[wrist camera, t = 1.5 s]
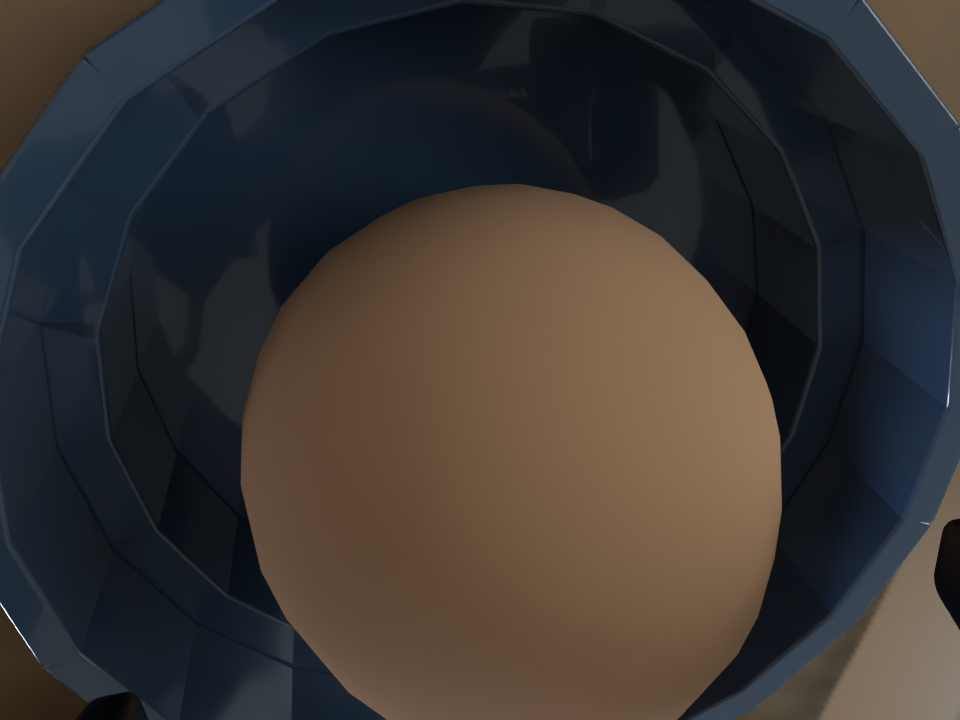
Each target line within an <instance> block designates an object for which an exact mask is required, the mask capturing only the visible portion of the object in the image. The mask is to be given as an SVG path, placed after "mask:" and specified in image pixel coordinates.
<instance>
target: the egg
mask: <svg viewBox="0 0 960 720" xmlns="http://www.w3.org/2000/svg"><path fill="white" fill-rule="evenodd" d="M241 489H242V493H243V497H244V501H245V506H246V510H247V514H248V518H249V522H250V527H251V531H252V535H253V539H254V543H255V548H256V552H257V556H258V560H259V565H260V569H261V572H262V574H263V576H264V578H265V580H266V581H267V583H268V585H269V587H270V589H271V591H272V593H273V595H274V596H275V598H276V600H277V602H278V604H279V606H280V608H281V610H282V611H283V613H284V615H285V617H286V619H287V620H288V621H289V623H290V624H291V625H292V626H293V627H294V629H295V630H296V631H297V632H298V633H299V634H300V636H301V637H302V638H303V639H304V640H305V642H306V643H307V644H308V645H309V646H310V648H311V649H312V650H313V651H314V652H315V654H316V655H317V656H318V657H319V658H320V659H321V661H322V662H323V663H324V664H325V665H326V666H327V668H328V669H329V670H330V671H331V672H332V674H333V675H334V676H335V677H336V678H337V679H338V681H339V682H340V683H341V684H342V685H343V686H344V688H345V689H346V690H347V691H348V692H349V693H350V694H351V695H353V696H354V697H356V698H357V699H358V700H360V701H361V702H363V703H364V704H366V705H367V706H368V707H370V708H371V709H373V710H374V711H375V712H377V713H378V714H380V715H381V716H383V717H384V718H385V719H387V720H677V719H679V717H680V716H681V715H682V714H683V713H684V712H685V711H686V710H687V709H688V708H689V707H690V706H691V705H692V703H693V702H694V701H695V700H696V699H697V698H698V697H699V696H700V695H701V694H702V693H703V692H704V691H705V690H706V688H707V687H708V686H709V685H710V684H711V683H712V682H713V681H714V680H715V679H716V678H717V677H718V676H719V675H720V673H721V672H722V671H723V670H724V669H725V668H726V667H727V666H728V665H729V664H730V663H731V661H732V660H733V659H734V658H735V657H736V656H737V654H738V653H739V651H740V649H741V647H742V645H743V643H744V642H745V640H746V638H747V636H748V634H749V632H750V631H751V629H752V627H753V625H754V623H755V621H756V619H757V618H758V615H759V611H760V608H761V604H762V601H763V597H764V594H765V590H766V587H767V583H768V579H769V576H770V572H771V569H772V565H773V562H774V558H775V551H776V545H777V538H778V532H779V526H780V519H781V513H782V493H781V455H780V435H779V430H778V425H777V420H776V416H775V411H774V406H773V401H772V398H771V395H770V392H769V389H768V386H767V383H766V380H765V378H764V376H763V373H762V371H761V369H760V366H759V364H758V362H757V359H756V357H755V355H754V352H753V350H752V348H751V345H750V343H749V341H748V338H747V336H746V334H745V331H744V330H743V329H742V327H741V326H740V325H739V323H738V322H737V320H736V319H735V318H734V316H733V315H732V314H731V312H730V311H729V310H728V308H727V307H726V306H725V304H724V303H723V301H722V300H721V299H720V297H719V296H718V295H717V293H716V292H715V291H714V289H713V288H712V286H711V285H710V284H709V282H708V281H707V280H706V279H705V278H704V277H703V276H702V275H701V274H700V273H699V272H698V271H697V270H696V269H695V268H694V267H693V266H692V265H691V264H690V263H688V262H687V261H686V260H685V259H684V258H683V257H682V256H681V255H680V254H679V253H678V252H677V251H676V250H675V249H674V248H673V247H672V246H671V245H670V244H669V243H668V242H667V241H666V240H665V239H663V238H662V237H661V236H660V235H658V234H657V233H655V232H653V231H652V230H650V229H648V228H646V227H645V226H643V225H641V224H640V223H638V222H636V221H635V220H633V219H631V218H629V217H628V216H626V215H624V214H623V213H621V212H619V211H617V210H616V209H614V208H612V207H609V206H606V205H604V204H601V203H598V202H595V201H592V200H590V199H587V198H584V197H581V196H578V195H576V194H572V193H567V192H562V191H556V190H551V189H545V188H540V187H535V186H529V185H524V184H502V185H476V186H472V187H467V188H462V189H457V190H453V191H448V192H444V193H440V194H435V195H431V196H427V197H423V198H419V199H415V200H412V201H410V202H408V203H406V204H404V205H402V206H400V207H398V208H396V209H394V210H392V211H390V212H388V213H386V214H384V215H382V216H381V217H379V218H378V219H376V220H375V221H373V222H371V223H370V224H368V225H367V226H365V227H364V228H362V229H361V230H359V231H358V232H356V233H355V234H353V235H352V236H350V237H349V238H347V239H346V240H344V241H343V242H341V243H340V244H338V245H337V246H335V247H334V248H332V249H331V250H330V251H329V252H328V253H326V254H325V255H324V256H323V258H322V259H321V260H320V261H319V262H318V263H317V265H316V266H315V267H314V268H313V269H312V271H311V272H310V273H309V274H308V275H307V277H306V278H305V279H304V280H303V281H302V282H301V284H300V285H299V286H298V287H297V288H296V290H295V291H294V292H293V293H292V294H291V295H290V297H289V298H288V299H287V300H286V301H285V303H284V304H283V305H282V306H281V308H280V310H279V312H278V315H277V317H276V319H275V321H274V323H273V325H272V327H271V329H270V331H269V334H268V336H267V338H266V340H265V342H264V344H263V346H262V348H261V351H260V353H259V356H258V359H257V363H256V367H255V371H254V374H253V378H252V382H251V386H250V390H249V393H248V397H247V401H246V405H245V408H244V412H243V416H242V447H241Z"/></svg>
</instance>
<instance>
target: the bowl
mask: <svg viewBox="0 0 960 720" xmlns="http://www.w3.org/2000/svg"><path fill="white" fill-rule="evenodd" d="M502 184H524V185H529V186H535V187H540V188H545V189H551V190H556V191H562V192H567V193H572V194H576V195H578V196H581V197H584V198H587V199H590V200H592V201H595V202H598V203H601V204H604V205H606V206H609V207H612V208H614V209H616V210H617V211H619V212H621V213H623V214H624V215H626V216H628V217H629V218H631V219H633V220H635V221H636V222H638V223H640V224H641V225H643V226H645V227H646V228H648V229H650V230H652V231H653V232H655V233H657V234H658V235H660V236H661V237H662V238H663V239H665V240H666V241H667V242H668V243H669V244H670V245H671V246H672V247H673V248H674V249H675V250H676V251H677V252H678V253H679V254H680V255H681V256H682V257H683V258H684V259H685V260H686V261H687V262H688V263H690V264H691V265H692V266H693V267H694V268H695V269H696V270H697V271H698V272H699V273H700V274H701V275H702V276H703V277H704V278H705V279H706V280H707V281H708V282H709V284H710V285H711V286H712V288H713V289H714V291H715V292H716V293H717V295H718V296H719V297H720V299H721V300H722V301H723V303H724V304H725V306H726V307H727V308H728V310H729V311H730V312H731V314H732V315H733V316H734V318H735V319H736V320H737V322H738V323H739V325H740V326H741V327H742V329H743V330H744V331H745V334H746V336H747V338H748V341H749V343H750V345H751V348H752V350H753V352H754V355H755V357H756V359H757V362H758V364H759V366H760V369H761V371H762V373H763V376H764V378H765V380H766V383H767V386H768V389H769V392H770V395H771V398H772V401H773V406H774V411H775V416H776V420H777V425H778V430H779V435H780V455H781V493H782V513H781V519H780V526H779V532H778V538H777V545H776V551H775V558H774V562H773V565H772V569H771V572H770V576H769V579H768V583H767V587H766V590H765V594H764V597H763V601H762V604H761V608H760V611H759V615H758V618H757V619H756V621H755V623H754V625H753V627H752V629H751V631H750V632H749V634H748V636H747V638H746V640H745V642H744V643H743V645H742V647H741V649H740V651H739V653H738V654H737V656H736V657H735V658H734V659H733V660H732V661H731V663H730V664H729V665H728V666H727V667H726V668H725V669H724V670H723V671H722V672H721V673H720V675H719V676H718V677H717V678H716V679H715V680H714V681H713V682H712V683H711V684H710V685H709V686H708V687H707V688H706V690H705V691H704V692H703V693H702V694H701V695H700V696H699V697H698V698H697V699H696V700H695V701H694V702H693V703H692V705H691V706H690V707H689V708H688V709H687V710H686V711H685V712H684V713H683V714H682V715H681V716H680V717H679V719H677V720H733V719H735V718H736V717H738V716H740V715H742V714H744V713H746V712H748V711H750V710H751V709H753V708H755V707H756V704H760V703H761V702H762V701H764V700H765V699H766V698H767V697H768V696H770V695H771V694H772V693H773V692H774V691H776V690H777V689H778V688H779V687H780V686H782V685H783V684H784V683H785V682H786V681H788V680H789V679H790V678H791V677H792V676H794V675H795V674H796V673H797V672H798V671H800V670H801V669H802V668H803V667H804V666H806V665H807V664H808V663H809V662H810V661H812V660H813V659H814V658H815V657H816V656H818V655H819V654H820V653H821V652H822V651H824V650H825V649H826V648H827V647H828V646H830V645H831V644H832V643H833V642H835V641H836V640H837V639H838V638H839V637H841V636H842V635H843V634H844V633H845V632H847V631H848V630H849V629H850V628H851V627H852V624H853V623H856V622H857V621H858V620H859V618H860V617H861V616H862V614H863V613H864V612H865V611H866V609H867V608H868V607H869V605H870V604H871V603H872V601H873V600H874V599H875V597H876V596H877V595H878V594H879V592H880V591H881V590H882V588H883V587H884V586H885V584H886V583H887V582H888V580H889V579H890V578H891V577H892V575H893V574H894V573H895V571H896V570H897V569H898V567H899V566H900V565H901V564H902V562H903V561H904V560H905V558H906V557H907V556H908V554H909V553H910V552H911V550H912V549H913V548H914V546H915V545H916V544H917V543H918V541H919V540H920V539H921V537H922V536H923V535H924V533H925V532H926V531H927V530H928V528H929V527H930V522H932V521H933V520H934V518H935V516H936V514H937V511H938V509H939V507H940V504H941V502H942V499H943V497H944V494H945V492H946V490H947V488H948V485H949V483H950V480H951V478H952V475H953V473H954V471H955V468H956V466H957V464H958V461H959V459H960V126H959V123H958V121H957V119H956V118H955V117H954V115H953V114H952V113H951V112H950V110H949V109H948V108H947V106H946V105H945V104H944V102H943V101H942V100H941V98H940V97H939V96H938V94H937V93H936V92H935V90H934V89H933V88H932V86H931V85H930V84H929V83H928V81H927V80H926V79H925V77H924V76H923V75H922V73H921V72H920V71H919V69H918V68H917V67H916V65H915V64H914V63H913V61H912V60H911V59H910V58H909V56H908V55H907V54H906V52H905V51H904V50H903V48H902V47H901V46H900V44H899V43H898V42H897V40H896V39H895V38H894V36H893V35H892V34H891V33H890V31H889V30H888V29H887V27H886V26H885V25H884V23H883V22H882V21H881V19H880V18H879V17H878V15H877V14H876V13H875V11H874V10H873V9H872V7H871V6H870V5H869V4H868V2H867V1H866V0H159V1H158V2H156V3H155V4H153V5H152V6H150V7H149V8H147V9H146V10H144V11H143V12H141V13H140V14H139V15H137V16H136V17H134V18H133V19H131V20H130V21H128V22H127V23H125V24H124V25H122V26H121V27H119V28H118V29H116V30H115V31H114V32H112V33H111V34H109V35H108V36H106V37H105V38H103V39H102V40H100V41H99V42H97V43H96V44H94V45H93V46H91V47H90V48H88V49H87V50H86V51H85V53H84V55H83V56H82V57H80V58H79V59H77V60H76V62H75V63H74V65H73V66H72V68H71V69H70V71H69V72H68V74H67V75H66V77H65V78H64V79H63V81H62V82H61V84H60V85H59V87H58V88H57V90H56V91H55V93H54V94H53V96H52V97H51V98H50V100H49V101H48V103H47V104H46V106H45V107H44V109H43V110H42V112H41V113H40V115H39V116H38V117H37V119H36V120H35V122H34V123H33V125H32V126H31V128H30V129H29V131H28V132H27V134H26V135H25V136H24V138H23V139H22V141H21V142H20V144H19V145H18V147H17V148H16V150H15V151H14V153H13V154H12V155H11V157H10V158H9V160H8V161H7V163H6V164H5V166H4V167H3V169H2V170H1V172H0V606H1V607H2V609H3V610H4V612H5V613H6V615H7V616H8V618H9V619H10V621H11V622H12V624H13V625H14V627H15V628H16V630H17V631H18V633H19V634H20V636H21V637H22V639H23V640H24V642H25V643H26V645H27V646H28V648H29V649H30V651H31V652H32V654H33V655H34V656H35V658H36V659H37V661H38V662H39V664H40V665H41V666H42V667H45V670H46V672H48V673H49V674H50V675H52V676H53V677H54V678H56V679H57V680H58V681H60V682H61V683H62V684H63V685H65V686H66V687H67V688H69V689H70V690H71V691H73V692H74V693H75V694H77V695H78V696H79V697H81V698H82V699H83V700H85V701H86V702H87V703H90V702H91V701H92V700H94V699H96V698H98V697H103V696H108V695H112V694H117V693H122V692H127V691H129V692H134V693H135V694H136V695H137V696H138V697H139V698H140V700H141V703H142V705H143V707H144V710H145V712H146V714H147V717H148V719H149V720H387V719H385V718H384V717H383V716H381V715H380V714H378V713H377V712H375V711H374V710H373V709H371V708H370V707H368V706H367V705H366V704H364V703H363V702H361V701H360V700H358V699H357V698H356V697H354V696H353V695H351V694H350V693H349V692H348V691H347V690H346V689H345V688H344V686H343V685H342V684H341V683H340V682H339V681H338V679H337V678H336V677H335V676H334V675H333V674H332V672H331V671H330V670H329V669H328V668H327V666H326V665H325V664H324V663H323V662H322V661H321V659H320V658H319V657H318V656H317V655H316V654H315V652H314V651H313V650H312V649H311V648H310V646H309V645H308V644H307V643H306V642H305V640H304V639H303V638H302V637H301V636H300V634H299V633H298V632H297V631H296V630H295V629H294V627H293V626H292V625H291V624H290V623H289V621H288V620H287V619H286V617H285V615H284V613H283V611H282V610H281V608H280V606H279V604H278V602H277V600H276V598H275V596H274V595H273V593H272V591H271V589H270V587H269V585H268V583H267V581H266V580H265V578H264V576H263V574H262V572H261V569H260V565H259V560H258V556H257V552H256V548H255V543H254V539H253V535H252V531H251V527H250V522H249V518H248V514H247V510H246V506H245V501H244V497H243V493H242V489H241V447H242V416H243V412H244V408H245V405H246V401H247V397H248V393H249V390H250V386H251V382H252V378H253V374H254V371H255V367H256V363H257V359H258V356H259V353H260V351H261V348H262V346H263V344H264V342H265V340H266V338H267V336H268V334H269V331H270V329H271V327H272V325H273V323H274V321H275V319H276V317H277V315H278V312H279V310H280V308H281V306H282V305H283V304H284V303H285V301H286V300H287V299H288V298H289V297H290V295H291V294H292V293H293V292H294V291H295V290H296V288H297V287H298V286H299V285H300V284H301V282H302V281H303V280H304V279H305V278H306V277H307V275H308V274H309V273H310V272H311V271H312V269H313V268H314V267H315V266H316V265H317V263H318V262H319V261H320V260H321V259H322V258H323V256H324V255H325V254H326V253H328V252H329V251H330V250H331V249H332V248H334V247H335V246H337V245H338V244H340V243H341V242H343V241H344V240H346V239H347V238H349V237H350V236H352V235H353V234H355V233H356V232H358V231H359V230H361V229H362V228H364V227H365V226H367V225H368V224H370V223H371V222H373V221H375V220H376V219H378V218H379V217H381V216H382V215H384V214H386V213H388V212H390V211H392V210H394V209H396V208H398V207H400V206H402V205H404V204H406V203H408V202H410V201H412V200H415V199H419V198H423V197H427V196H431V195H435V194H440V193H444V192H448V191H453V190H457V189H462V188H467V187H472V186H476V185H502Z"/></svg>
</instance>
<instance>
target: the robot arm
mask: <svg viewBox="0 0 960 720" xmlns="http://www.w3.org/2000/svg"><path fill="white" fill-rule="evenodd" d="M934 580H935V586H936V589H937V592H938V594H939V596H940V598H941V600H942V602H943V603H944V605H945V607H946V608H947V610H948V611H949V613H950V615H951V617H952V618H953V620H954V621H955V623H956V625H957V626H958V628H959V630H960V519H956V520H952V521H950V522H948V523H947V524H946V526H945V527H944V529H943V532H942V537H941V542H940V547H939V552H938V557H937V562H936V567H935V572H934ZM76 720H149V719H148V717H147V714H146V712H145V710H144V707H143V705H142V703H141V700H140V698H139V697H138V696H137V695H136V694H135V693H134V692H129V691H127V692H122V693H117V694H112V695H108V696H103V697H98V698H96V699H94V700H92V701H91V702H90V703H89V704H88V705H87V706H86V707H85V708H84V710H83V711H82V712H81V713H80V715H79V716H78V717H77V718H76Z"/></svg>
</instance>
